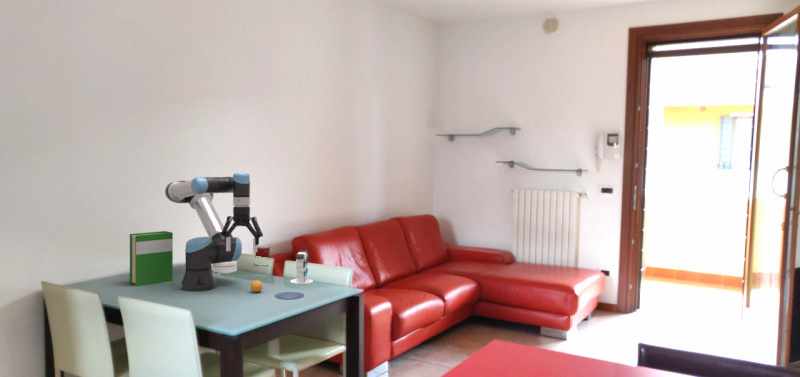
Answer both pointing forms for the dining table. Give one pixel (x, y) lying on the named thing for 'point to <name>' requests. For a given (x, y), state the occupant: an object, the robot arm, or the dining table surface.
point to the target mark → (289, 295)
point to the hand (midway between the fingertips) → (241, 251)
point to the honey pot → (225, 267)
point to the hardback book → (151, 258)
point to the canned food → (263, 251)
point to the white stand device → (301, 269)
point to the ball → (256, 286)
